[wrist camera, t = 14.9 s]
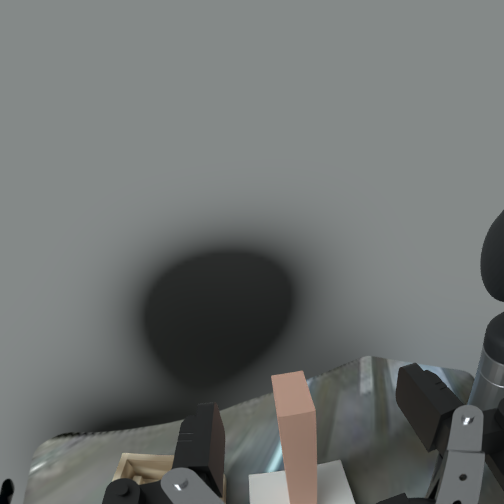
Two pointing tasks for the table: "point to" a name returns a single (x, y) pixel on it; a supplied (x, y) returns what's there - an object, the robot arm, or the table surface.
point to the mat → (328, 486)
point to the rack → (148, 468)
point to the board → (297, 435)
